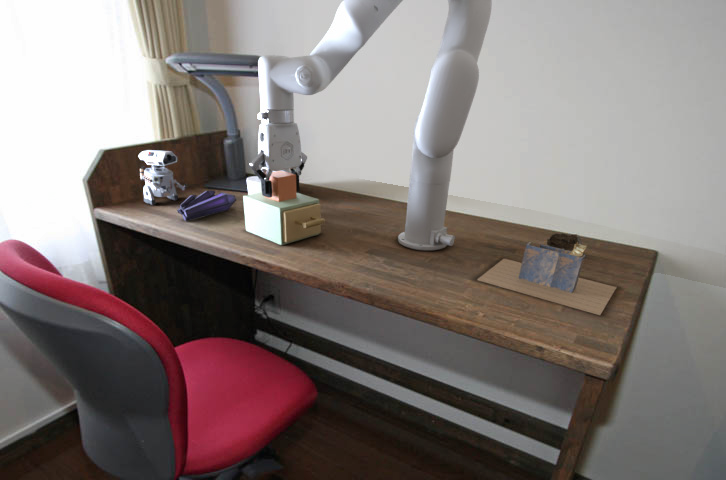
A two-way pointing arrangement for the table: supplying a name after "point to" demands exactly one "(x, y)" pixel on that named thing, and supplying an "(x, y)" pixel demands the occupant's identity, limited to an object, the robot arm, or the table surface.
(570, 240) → the rock sample
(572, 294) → the ruin model on sheet
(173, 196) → the figurine
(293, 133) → the robot arm
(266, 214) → the cabinet
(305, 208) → the drawer
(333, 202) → the table surface
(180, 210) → the crystal
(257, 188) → the white cup
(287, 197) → the plain salmon cube
